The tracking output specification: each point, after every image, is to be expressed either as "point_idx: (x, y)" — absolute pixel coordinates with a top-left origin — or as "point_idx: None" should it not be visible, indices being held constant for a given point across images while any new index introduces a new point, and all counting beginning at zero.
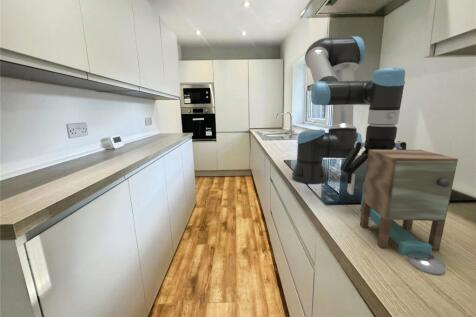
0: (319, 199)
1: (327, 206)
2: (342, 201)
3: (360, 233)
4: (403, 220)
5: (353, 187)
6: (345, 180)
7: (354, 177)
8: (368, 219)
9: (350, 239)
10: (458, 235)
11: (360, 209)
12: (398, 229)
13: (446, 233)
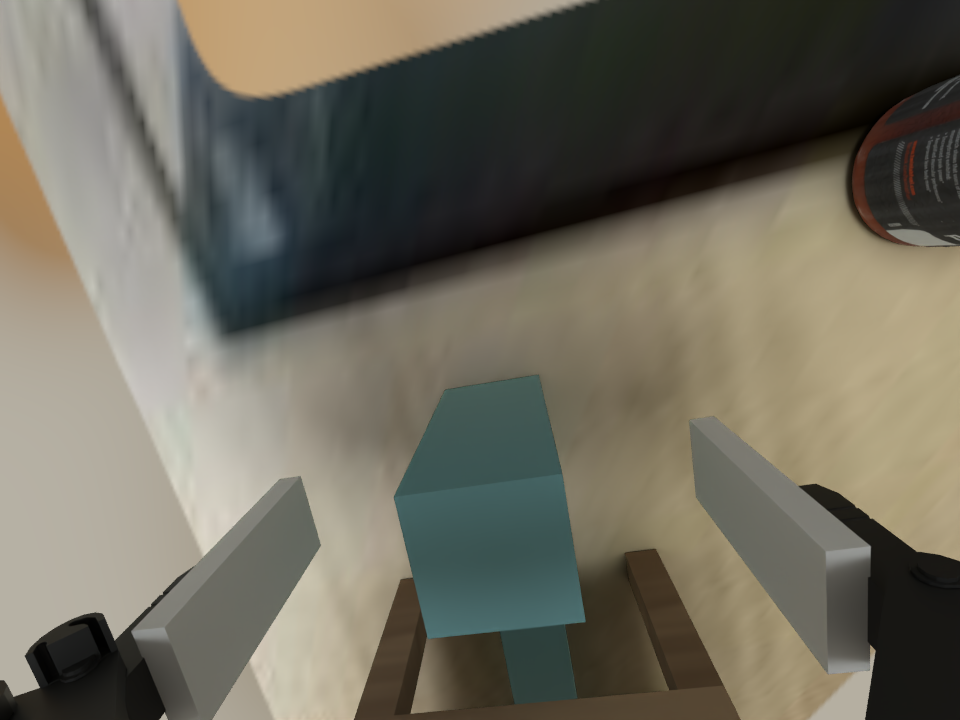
0: (176, 244)
1: (237, 368)
2: (346, 242)
3: None
4: (634, 579)
5: (286, 595)
6: (176, 582)
7: (223, 691)
8: (423, 639)
9: (333, 708)
10: None
11: (443, 393)
12: None
13: None
